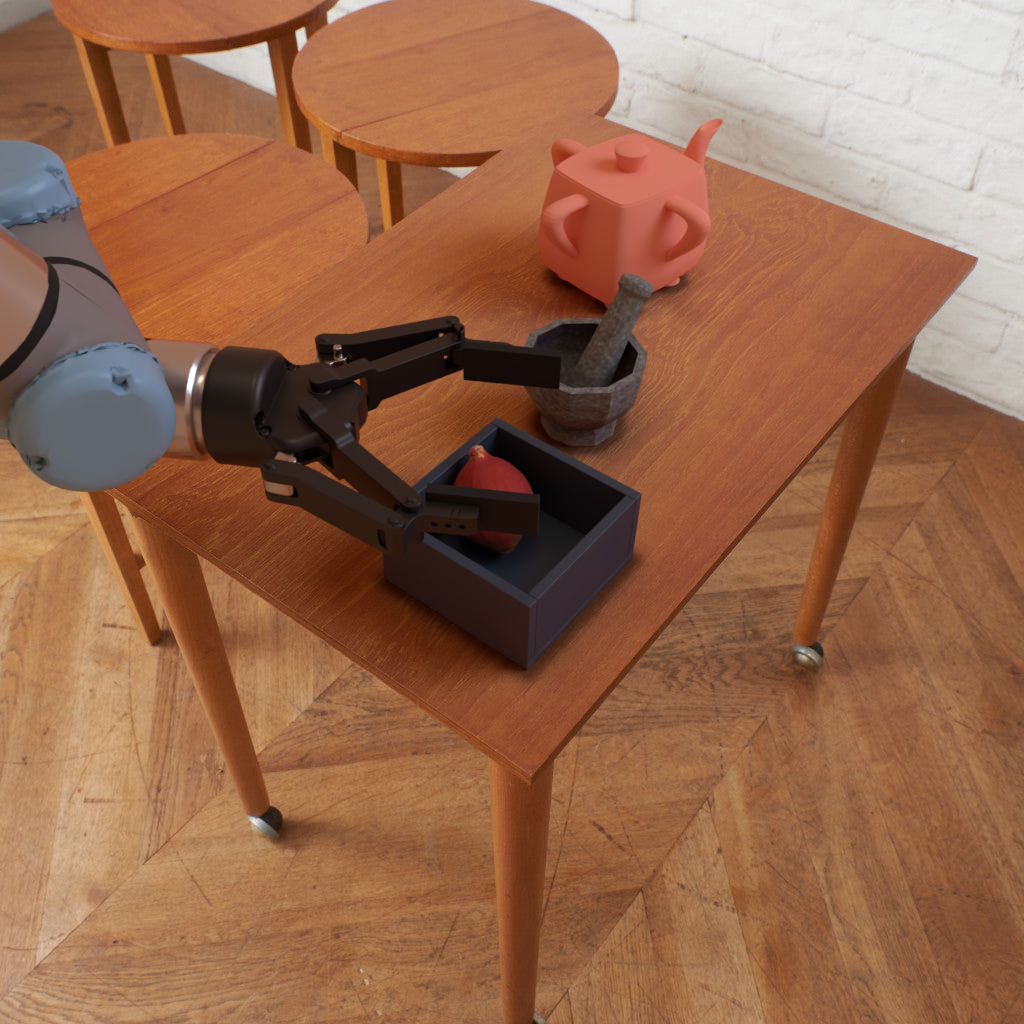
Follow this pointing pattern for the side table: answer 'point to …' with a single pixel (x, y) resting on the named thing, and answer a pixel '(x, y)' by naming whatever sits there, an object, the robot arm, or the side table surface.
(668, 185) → the teapot
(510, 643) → the dark blue open box
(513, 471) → the onion
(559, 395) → the mortar and pestle
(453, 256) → the side table surface
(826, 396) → the side table surface
